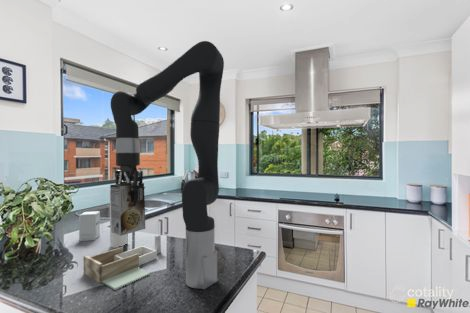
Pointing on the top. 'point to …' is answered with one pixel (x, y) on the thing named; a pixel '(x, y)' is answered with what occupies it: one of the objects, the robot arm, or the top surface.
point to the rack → (108, 264)
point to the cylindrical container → (114, 238)
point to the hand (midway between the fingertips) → (128, 200)
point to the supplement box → (89, 226)
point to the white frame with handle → (143, 252)
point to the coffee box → (126, 210)
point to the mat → (125, 278)
